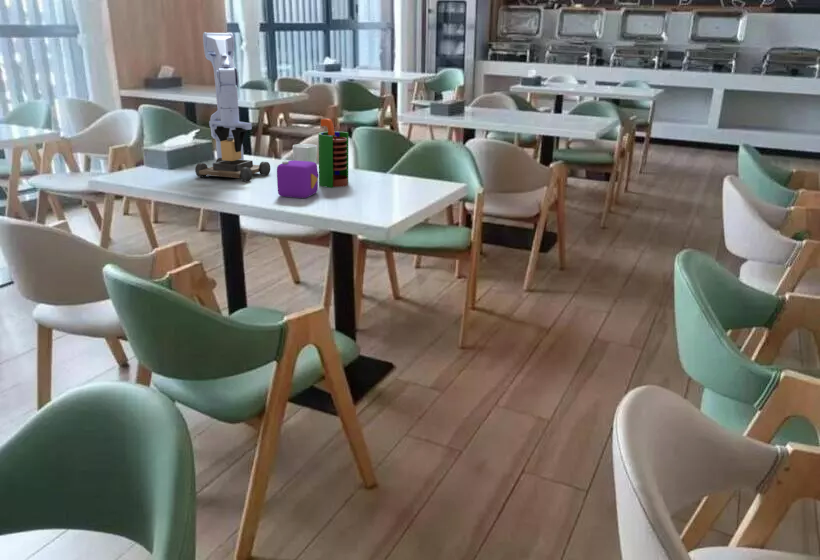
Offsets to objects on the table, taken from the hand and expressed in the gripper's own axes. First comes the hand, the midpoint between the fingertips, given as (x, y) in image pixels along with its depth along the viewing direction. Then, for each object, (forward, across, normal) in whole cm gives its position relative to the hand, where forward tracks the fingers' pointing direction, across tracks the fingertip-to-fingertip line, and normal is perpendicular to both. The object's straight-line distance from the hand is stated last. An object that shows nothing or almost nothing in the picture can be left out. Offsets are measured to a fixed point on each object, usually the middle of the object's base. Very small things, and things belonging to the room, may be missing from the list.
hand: (232, 151), depth 219 cm
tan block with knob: (+3, 0, 0) cm, 3 cm away
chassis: (+8, 0, 0) cm, 8 cm away
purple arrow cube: (+8, +32, -14) cm, 36 cm away
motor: (+8, +35, +2) cm, 36 cm away
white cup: (+8, +21, +10) cm, 25 cm away
